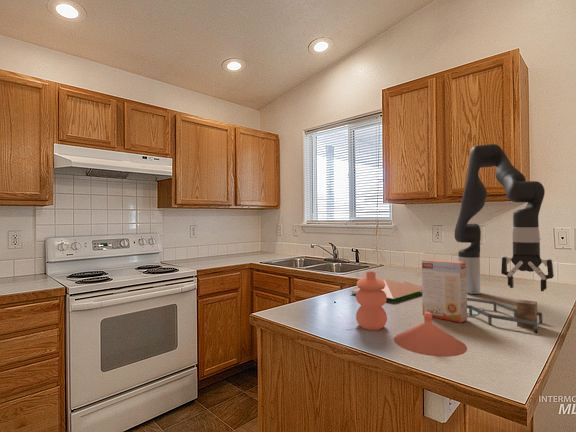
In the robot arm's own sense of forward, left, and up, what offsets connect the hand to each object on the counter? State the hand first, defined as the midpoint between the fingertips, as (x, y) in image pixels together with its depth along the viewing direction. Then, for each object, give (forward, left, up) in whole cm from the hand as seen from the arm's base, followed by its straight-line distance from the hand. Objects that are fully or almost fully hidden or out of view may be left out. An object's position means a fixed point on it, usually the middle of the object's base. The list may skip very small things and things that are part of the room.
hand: (526, 289), depth 116 cm
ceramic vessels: (-26, -37, -13) cm, 47 cm away
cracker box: (-24, -8, -12) cm, 28 cm away
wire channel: (-12, +4, -12) cm, 18 cm away
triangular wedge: (-56, +12, -13) cm, 58 cm away
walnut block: (0, 0, -12) cm, 12 cm away
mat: (-21, +8, -12) cm, 26 cm away
